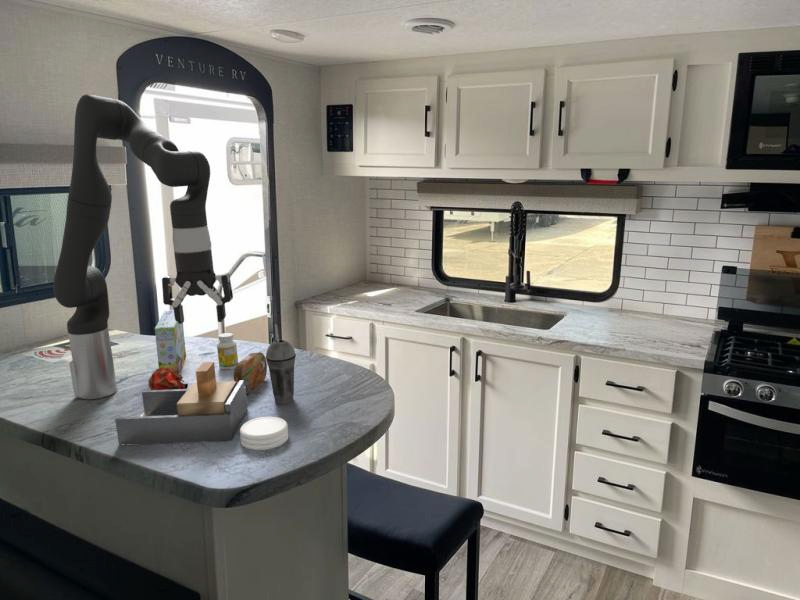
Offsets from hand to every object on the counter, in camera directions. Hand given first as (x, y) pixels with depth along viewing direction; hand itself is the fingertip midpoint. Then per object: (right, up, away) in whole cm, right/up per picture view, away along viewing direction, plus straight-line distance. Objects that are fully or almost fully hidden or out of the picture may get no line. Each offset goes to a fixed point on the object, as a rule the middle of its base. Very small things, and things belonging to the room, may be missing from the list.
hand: (201, 322), depth 134 cm
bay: (-5, -24, +5) cm, 25 cm away
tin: (+4, -18, +28) cm, 34 cm away
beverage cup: (+15, -20, +19) cm, 31 cm away
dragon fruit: (-16, -20, +23) cm, 34 cm away
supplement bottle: (-6, -15, +44) cm, 47 cm away
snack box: (-22, -15, +45) cm, 52 cm away
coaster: (+14, -26, -2) cm, 29 cm away
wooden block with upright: (0, -23, +5) cm, 23 cm away
